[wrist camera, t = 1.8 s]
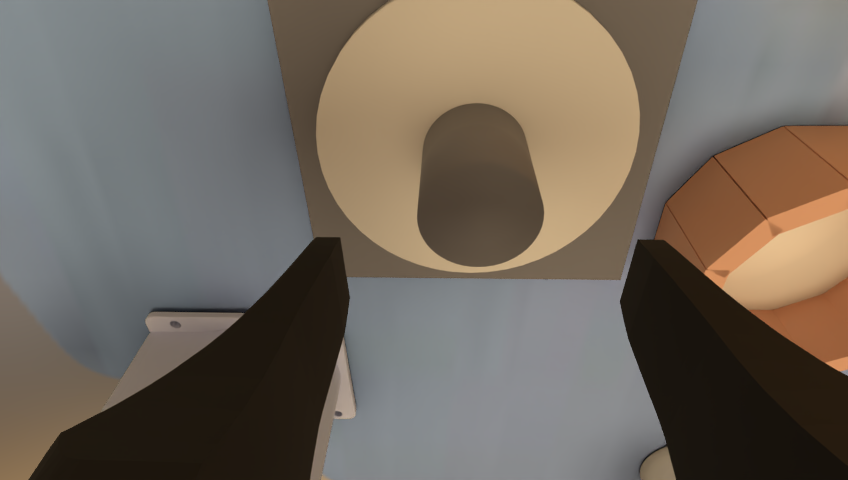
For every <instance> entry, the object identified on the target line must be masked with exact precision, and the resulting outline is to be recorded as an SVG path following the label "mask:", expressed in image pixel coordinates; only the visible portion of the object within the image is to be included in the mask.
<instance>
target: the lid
mask: <svg viewBox="0 0 848 480" xmlns="http://www.w3.org/2000/svg"><path fill="white" fill-rule="evenodd" d="M639 126H640V110H639V102H638V94H637V89H636V86H635V82H634V79H633V75H632V72H631V70H630V68H629V66H628V64H627V61H626V59H625V57H624V55H623V53H622V51H621V50H620V48H619V47H618V46H617V44H616V43H615V41H614V40H613V38H612V37H611V35H610V34H609V33H608V32H607V31H606V29H605V28H604V27H603V26H602V25H601V24H600V23H599V22H598V21H597V20H596V19H595V18H594V17H593V15H592V14H591V13H590V12H589V11H588V10H586V9H585V8H584V7H582V6H581V5H580V4H578V3H577V2H576V1H575V0H389V1H388V2H386V3H385V4H384V5H383V6H381V7H380V8H379V9H377V10H376V11H375V12H374V13H372V14H371V15H370V16H369V17H368V18H367V19H366V20H365V21H364V22H363V23H362V24H361V25H360V26H359V27H358V28H357V29H356V30H355V31H354V33H353V34H352V35H351V37H350V38H349V40H348V41H347V42H346V44H345V45H344V47H343V48H342V49H341V51H340V53H339V55H338V57H337V59H336V61H335V63H334V65H333V66H332V68H331V70H330V72H329V74H328V76H327V79H326V82H325V85H324V87H323V90H322V93H321V96H320V102H319V107H318V112H317V122H316V141H317V151H318V157H319V161H320V165H321V169H322V173H323V175H324V178H325V180H326V183H327V185H328V188H329V190H330V192H331V193H332V195H333V197H334V199H335V201H336V202H337V204H338V206H339V207H340V208H341V210H342V211H343V212H344V214H345V215H346V216H347V218H348V219H349V220H350V221H351V222H352V223H353V224H354V225H355V226H356V227H357V228H358V229H359V230H360V231H361V232H362V233H363V234H364V235H366V236H367V237H368V238H369V239H370V240H372V241H373V242H374V243H376V244H377V245H379V246H380V247H382V248H384V249H385V250H387V251H388V252H390V253H392V254H394V255H396V256H398V257H400V258H402V259H405V260H407V261H410V262H413V263H415V264H418V265H421V266H425V267H429V268H433V269H437V270H444V271H450V272H464V273H478V272H492V271H499V270H505V269H509V268H514V267H518V266H522V265H525V264H528V263H530V262H533V261H536V260H539V259H541V258H543V257H545V256H547V255H550V254H552V253H554V252H556V251H558V250H559V249H561V248H563V247H564V246H566V245H567V244H569V243H571V242H572V241H574V240H575V239H576V238H577V237H579V236H580V235H581V234H583V233H584V232H585V231H586V230H588V229H589V228H590V227H591V226H592V225H593V224H594V223H595V222H596V221H597V220H598V219H599V218H600V217H601V216H602V214H603V213H604V212H605V211H606V210H607V208H608V207H609V206H610V205H611V204H612V202H613V200H614V199H615V197H616V196H617V194H618V193H619V191H620V190H621V188H622V186H623V184H624V182H625V180H626V178H627V176H628V174H629V171H630V169H631V166H632V163H633V160H634V156H635V153H636V149H637V143H638V137H639Z"/></svg>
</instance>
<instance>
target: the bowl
mask: <svg viewBox="0 0 848 480" xmlns="http://www.w3.org/2000/svg"><path fill="white" fill-rule="evenodd" d="M666 203H667V204H665V207H664V210H663V213H662V216H661V220H660V223H659V226H658V229H657V232H656V236H655V239H654V240H665V241H666V242H667V243H669V244H670V245H671V246H672V247H673V248H675V249H676V250H677V251H678V252H679V253H681V254H682V255H683V256H684V257H685V258H686V259H687V260H689V261H690V262H691V263H692V264H693V265H694V266H696V267H697V268H698V269H699V270H700V271H701V272H702V273H704V274H705V275H706V276H707V277H708V278H709V279H711V280H712V281H713V282H714V283H715V284H716V285H718V286H719V287H720V288H721V289H722V290H724V291H725V292H726V293H727V294H729V295H730V296H731V297H732V298H733V299H735V300H736V301H737V302H738V303H740V304H741V305H742V306H744V307H745V308H746V309H747V310H749V311H750V312H751V313H753V314H754V315H755V316H757V317H758V318H759V319H761V320H762V321H763V322H765V323H766V324H767V325H769V326H770V327H771V328H773V329H774V330H776V331H777V332H778V333H780V334H781V335H783V336H784V337H786V338H787V339H789V340H790V341H792V342H793V343H795V344H796V345H798V346H799V347H801V348H802V349H804V350H806V351H807V352H809V353H810V354H812V355H813V356H815V357H816V358H818V359H819V360H821V361H823V362H824V363H826V364H828V365H829V366H831V367H833V368H834V369H836V370H838V371H843V370H847V369H848V126H784V127H783V126H782V127H780V128H778V129H775V130H773V131H771V132H768V133H766V134H764V135H761V136H759V137H757V138H754V139H752V140H750V141H747V142H745V143H743V144H740V145H738V146H736V147H733V148H731V149H729V150H726V151H724V152H722V153H719V154H717V155H715V156H714V157H712V158H711V159H710V160H709V161H708V162H707V163H706V164H705V165H704V166H703V167H702V168H701V169H700V170H699V171H698V172H697V173H696V174H695V175H693V176H692V177H691V178H690V179H689V180H688V181H687V182H686V183H685V184H684V185H683V186H682V187H681V188H680V189H679V190H678V191H677V192H676V193H675V194H674V195H673V196H672V197H671V198H670V199H669V200H668V201H667V202H666Z"/></svg>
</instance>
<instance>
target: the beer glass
mask: <svg viewBox="0 0 848 480" xmlns="http://www.w3.org/2000/svg"><path fill="white" fill-rule="evenodd" d="M640 478H641V480H676V478H675V474H674V470H673V466H672V463H671V459H670V455H669V451H668V447H667V446H666V447H663V448H661V449H659V450H657V451H656V452H654V453H652V454H651V455H650V456H648V457H647V458H646V459H645V461H644V462H643V463H642V465H641V467H640Z"/></svg>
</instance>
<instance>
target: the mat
mask: <svg viewBox="0 0 848 480" xmlns="http://www.w3.org/2000/svg"><path fill="white" fill-rule="evenodd" d="M388 1H389V0H268V5H269V10H270V15H271V21H272V26H273V31H274V36H275V41H276V46H277V51H278V57H279V62H280V67H281V72H282V77H283V82H284V88H285V93H286V98H287V103H288V108H289V113H290V119H291V124H292V129H293V134H294V139H295V144H296V149H297V155H298V160H299V165H300V170H301V175H302V180H303V186H304V191H305V196H306V201H307V206H308V211H309V217H310V222H311V227H312V232H313V237H314V239H315V238H316V237H340V238H341V244H342V251H343V257H344V264H345V270H346V277H399V278H495V279H590V280H620V279H621V275H622V272H623V268H624V265H625V261H626V257H627V254H628V250H629V246H630V243H631V239H632V236H633V232H634V228H635V225H636V221H637V218H638V214H639V210H640V207H641V203H642V199H643V196H644V192H645V189H646V185H647V181H648V178H649V174H650V171H651V167H652V163H653V160H654V156H655V152H656V149H657V145H658V142H659V138H660V134H661V131H662V127H663V124H664V120H665V116H666V113H667V109H668V105H669V102H670V98H671V95H672V91H673V87H674V84H675V80H676V77H677V73H678V69H679V66H680V62H681V58H682V55H683V51H684V48H685V44H686V40H687V37H688V33H689V30H690V26H691V22H692V19H693V15H694V11H695V8H696V4H697V1H698V0H575V1H576V2H577V3H578V4H580V5H581V6H582V7H584V8H585V9H586V10H588V11H589V12H590V13H591V14H592V15H593V17H594V18H595V19H596V20H597V21H598V22H599V23H600V24H601V25H602V26H603V27H604V28H605V29H606V31H607V32H608V33H609V34H610V35H611V37H612V38H613V40H614V41H615V43H616V44H617V46H618V47H619V48H620V50H621V51H622V53H623V55H624V57H625V59H626V61H627V64H628V66H629V68H630V70H631V72H632V75H633V79H634V82H635V86H636V89H637V94H638V102H639V110H640V126H639V137H638V143H637V149H636V153H635V156H634V160H633V163H632V166H631V169H630V171H629V174H628V176H627V178H626V180H625V182H624V184H623V186H622V188H621V190H620V191H619V193H618V194H617V196H616V197H615V199H614V200H613V202H612V204H611V205H610V206H609V207H608V208H607V210H606V211H605V212H604V213H603V214H602V216H601V217H600V218H599V219H598V220H597V221H596V222H595V223H594V224H593V225H592V226H591V227H590V228H589V229H588V230H586V231H585V232H584V233H583V234H581V235H580V236H579V237H577V238H576V239H575V240H574V241H572V242H571V243H569V244H567V245H566V246H564V247H563V248H561V249H559V250H558V251H556V252H554V253H552V254H550V255H547V256H545V257H543V258H541V259H539V260H536V261H533V262H530V263H528V264H525V265H522V266H518V267H514V268H509V269H505V270H499V271H492V272H478V273H464V272H450V271H444V270H437V269H433V268H429V267H425V266H421V265H418V264H415V263H413V262H410V261H407V260H405V259H402V258H400V257H398V256H396V255H394V254H392V253H390V252H388V251H387V250H385V249H384V248H382V247H380V246H379V245H377V244H376V243H374V242H373V241H372V240H370V239H369V238H368V237H367V236H366V235H364V234H363V233H362V232H361V231H360V230H359V229H358V228H357V227H356V226H355V225H354V224H353V223H352V222H351V221H350V220H349V219H348V218H347V216H346V215H345V214H344V212H343V211H342V210H341V208H340V207H339V206H338V204H337V202H336V201H335V199H334V197H333V195H332V193H331V192H330V190H329V188H328V185H327V183H326V180H325V178H324V175H323V173H322V169H321V165H320V161H319V157H318V151H317V141H316V122H317V112H318V107H319V102H320V96H321V93H322V90H323V87H324V85H325V82H326V79H327V76H328V74H329V72H330V70H331V68H332V66H333V65H334V63H335V61H336V59H337V57H338V55H339V53H340V51H341V49H342V48H343V47H344V45H345V44H346V42H347V41H348V40H349V38H350V37H351V35H352V34H353V33H354V31H355V30H356V29H357V28H358V27H359V26H360V25H361V24H362V23H363V22H364V21H365V20H366V19H367V18H368V17H369V16H370V15H371V14H372V13H374V12H375V11H376V10H377V9H379V8H380V7H381V6H383V5H384V4H385V3H386V2H388Z"/></svg>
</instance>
